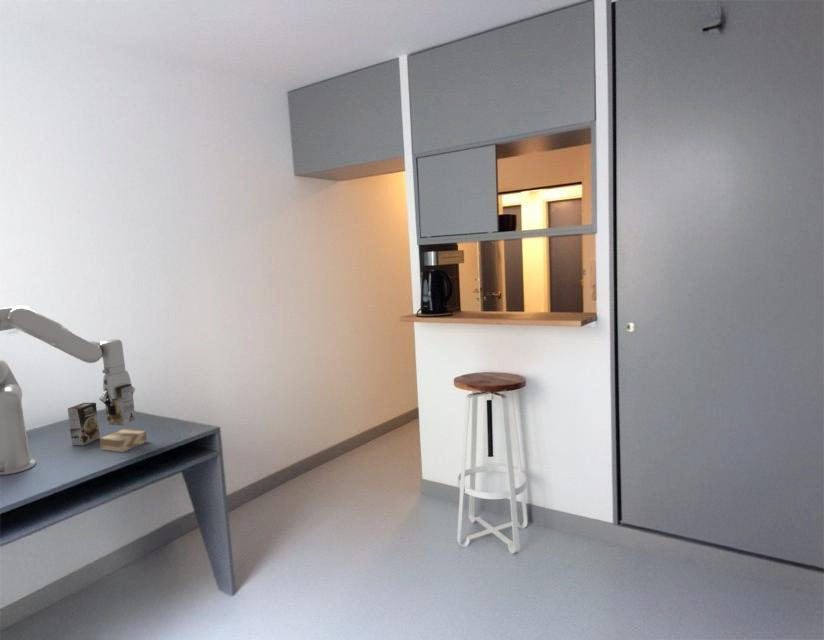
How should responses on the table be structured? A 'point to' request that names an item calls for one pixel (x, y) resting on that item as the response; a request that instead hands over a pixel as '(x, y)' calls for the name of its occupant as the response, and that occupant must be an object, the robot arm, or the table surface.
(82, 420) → the coffee box
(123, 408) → the coffee box
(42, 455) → the table surface
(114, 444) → the oak block
